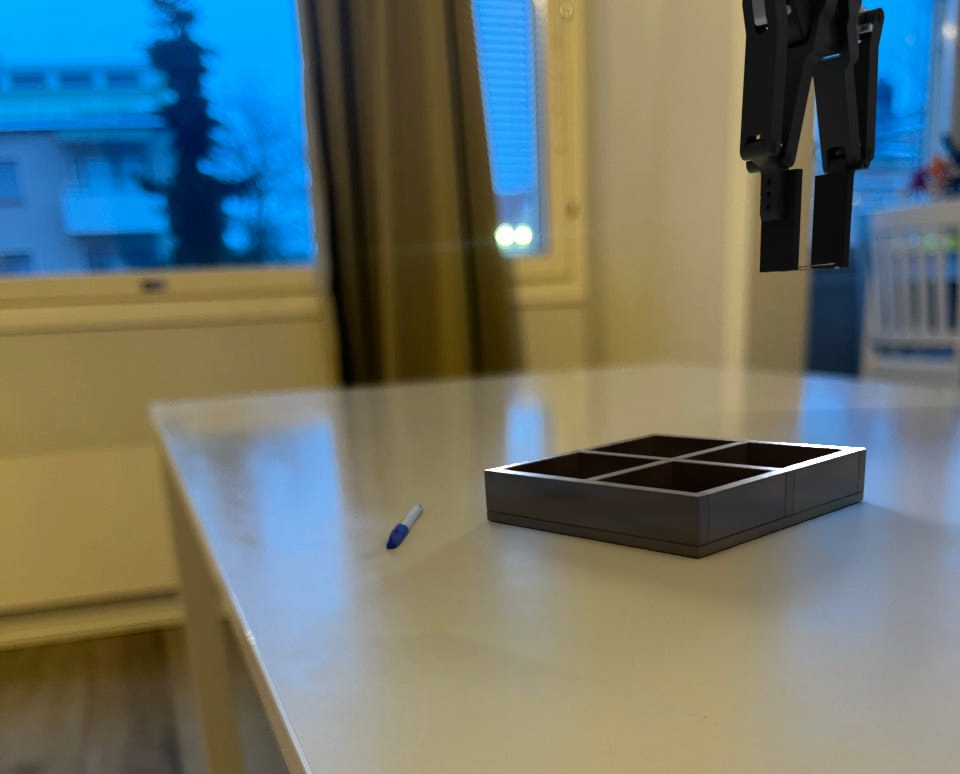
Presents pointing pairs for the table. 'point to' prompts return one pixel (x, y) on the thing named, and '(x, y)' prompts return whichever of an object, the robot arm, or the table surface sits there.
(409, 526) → the blue and white marker
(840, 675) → the table surface
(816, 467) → the grid
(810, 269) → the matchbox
